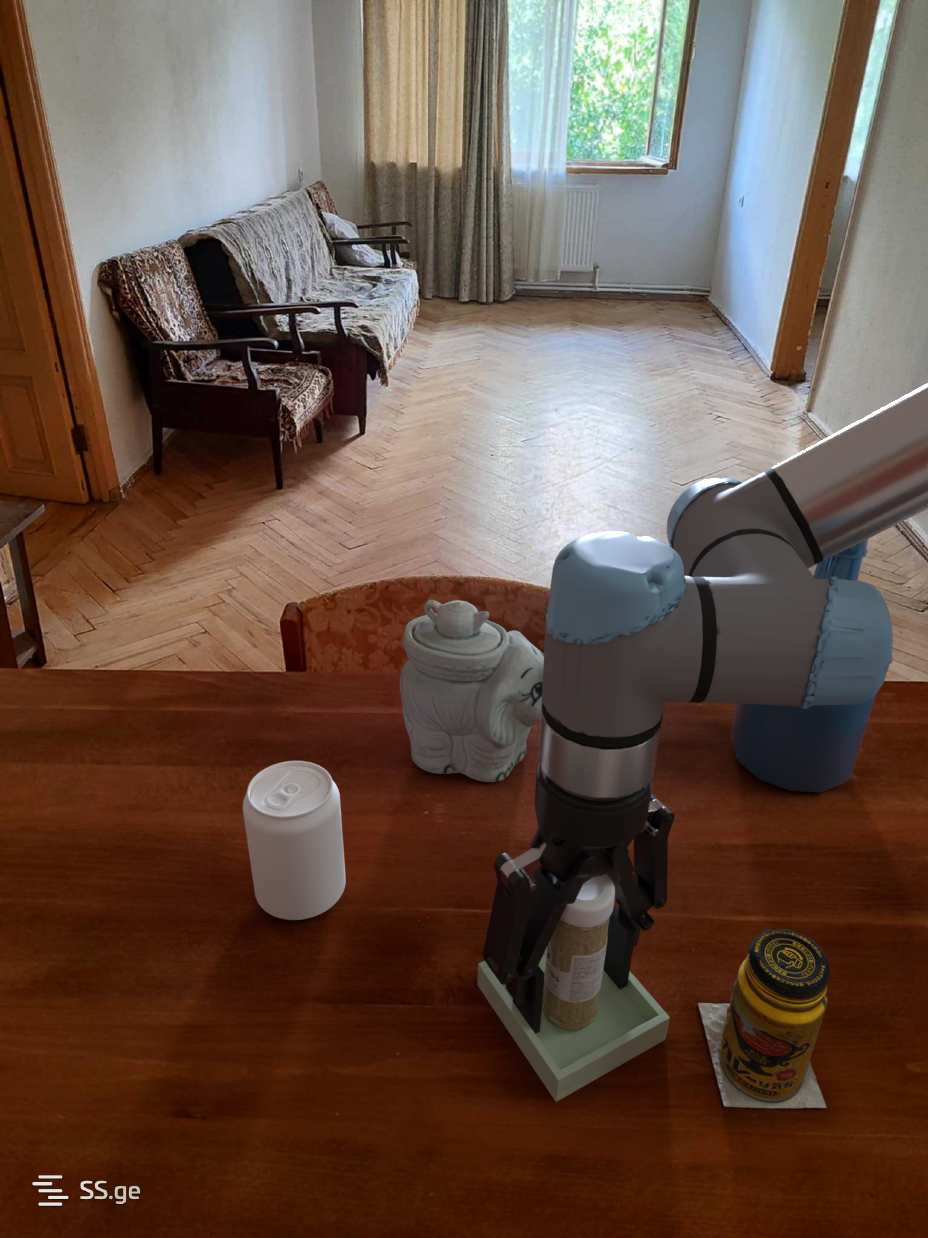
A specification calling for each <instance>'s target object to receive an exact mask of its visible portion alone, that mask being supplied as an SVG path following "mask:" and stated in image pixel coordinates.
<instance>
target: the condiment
mask: <svg viewBox="0 0 928 1238" xmlns="http://www.w3.org/2000/svg"><path fill="white" fill-rule="evenodd" d="M747 952H748V954H747V955H746V958H745V959H744V960H743V961H742V963H741V964H740V965H739V967H738V971H737V974H736V978H735V981H734V983H733V985H732V994H731V996H730V1000H729V1003H711V1002H698V1003H697V1005H698V1009H699V1012H700V1017H701V1020H702V1024H703V1029H704V1031H705V1032H704V1033H705V1036H706V1040H707V1044H708V1049H709V1053H710V1057H711V1061H712V1065H713V1068H714V1074H715V1077H716V1081H717V1085H718V1088H719V1093H720V1098H721V1101H722V1103H723V1106H724V1107H725V1108H750V1109H805V1108H807V1109H815V1108H816V1109H827V1108H828V1107H827V1105H826V1102H825V1098H824V1096H823V1094H822V1091H821V1089H820V1086H819V1084H818V1080H817V1077H816V1074H815V1071H814V1069H813V1067H812V1062H811V1057H812V1053H813V1051H814V1048H815V1044H816V1042H817V1039H818V1035H819V1032H820V1029H821V1026H822V1023H823V1019H824V1017H825V1013H826V1010H827V1007H828V993H827V989H828V984H829V981H830V978H831V970H830V962H829V960H828V957H827V956H826V953H825V952H824V950H823V949H822V947H820V945H819V944H818V943H816V942H815V940H812V939H811V938H809V937H808V936H805V935H804V934H801V933H799V932H797V931H794V930H791V929H785V928H772V929H771V928H770V929H765V930H763V931H762V932H761V933H759V934H757V935H756V936H755V937H753V939H752V942H751V943H750V945H749V948H748V951H747Z"/></svg>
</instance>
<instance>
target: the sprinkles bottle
mask: <svg viewBox="0 0 928 1238" xmlns="http://www.w3.org/2000/svg"><path fill="white" fill-rule="evenodd" d="M614 905H615V887H614V884H613V881H612V880H611V878H610V877H609V876H608V874H607V873H606V874H604V875H601V876H597V877H593V878H591V879H590V880H588V881H587V882H585V883H584V884H583V885H582V888H581V890H580V892H579V894H578V896H577V898H576V900H575V902H574V903H572V904H567V905H566V907H565V910H564V912H563V914H562V916H561V918H560V920H559V922H558V925H557V927H556V929H555V931H554V933H553V935H552V937H551V939H550V942H549V944H548V946H547V955H546V963H545V972H544V973H545V979H544V990H543V1001H542V1009H543V1012H544V1014H545V1015H546V1017H547V1018H548V1019H549V1020H550V1021H551V1022H552V1023H553V1024H555V1025H557V1026H558V1027H560V1028H564V1029H568V1030H578V1029H581V1028H584V1027H586V1026H588V1025H590V1024H591V1023H592V1022H593V1021H594V1020H595V1018H596V1016H597V1013H598V995H599V989H600V987H601V981H602V974H603V967H604V960H605V953H606V946H607V938H608V936H607V933H608V925H609V917H610V915H611V913H612V911H613V907H614Z"/></svg>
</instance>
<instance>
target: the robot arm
mask: <svg viewBox="0 0 928 1238" xmlns="http://www.w3.org/2000/svg"><path fill="white" fill-rule="evenodd" d="M927 510H928V382H927V383H925V384H924V385H922V386H920V387H918V388H916V389H915V390H913V391H911V392H908V393H907V394H905V395H903V396H902V397H900V398H898V399H896V400H894V401H892V402H891V403H889V404H887V405H885V406H883V407H881V408H879V409H877V410H876V411H874V412H872V413H870V414H869V415H867V416H865V417H863V418H860V419H859V420H857V421H856V422H854V423H851V424H850V425H848V426H846V427H844V428H843V429H841V430H839V431H837V432H835V433H834V434H832V435H830V436H828V437H826V438H824V439H822V440H820V441H819V442H817V443H815V444H813V445H811V446H809V447H807V448H806V449H804V450H801V451H800V452H798V453H796V454H794V455H793V456H791V457H789V458H787V459H786V460H784V461H781V462H780V463H777V464H776V465H774V466H772V467H771V468H769V469H767V470H765V471H763V472H761V473H759V474H758V475H756V476H754V477H751V478H750V479H748V480H746V481H744V482H742V481H740V480H738V479H734V478H730V477H713V478H706V479H703V480H700V481H698V482H696V483H694V484H692V485H690V486H689V487H688V488H686V489H685V490H684V491H683V492H682V493H681V494H680V495H679V496H678V497H677V499H676V500H675V501H674V503H673V505H672V506H671V508H670V511H669V513H668V516H667V519H666V538H667V541H668V544H667V543H665V542H663V541H661V540H660V539H657V538H655V537H652V536H637V535H633V534H632V533H631V532H626V531H602V532H596V533H590V534H586V535H582V536H580V537H577V538H576V539H574V540H572V541H570V542H568V543H567V544H566V545H564V546H563V548H562V549H561V550H560V551H559V553H558V554H557V555H556V557H555V559H554V562H553V566H552V572H551V580H550V586H549V587H550V588H549V596H548V605H547V608H546V610H545V627H544V628H545V629H544V647H543V648H544V649H543V650H544V651H543V653H544V667H543V687H542V706H541V720H540V722H539V736H538V762H537V765H536V774H535V775H536V776H535V777H536V778H535V790H534V791H535V793H534V810H535V815H536V821H537V829H536V832H535V834H534V836H533V837H532V839H531V842H530V848H529V850H527V851H525V852H522V854H520V855H518V856H517V857H515V858H512V857H511V855H509V854H508V853H507V852H504V853H501V854H499V855H497V857H496V858H495V859H494V861H493V867H494V871H495V877H496V880H497V881H496V886H495V890H494V896H493V900H492V906H491V911H490V916H489V921H488V926H487V929H486V930H487V931H486V935H485V941H484V946H483V951H482V956H481V957H482V959H483V961H485V962H486V963H487V965H488V966H489V968H490V969H491V971H492V972H493V973H494V975H495V976H496V978H497V979H498V980H499V982H500V983H501V984H502V985H504V984H506V989H507V991H508V992H509V994H510V995H511V997H512V998H513V1003H514V1004H515V1006H516V1007H517V1009H518V1010H519V1011H520V1013H521V1014H522V1016H523V1017H524V1019H525V1020H526V1021H527V1023H528V1024H529V1026H530V1027H531V1029H532V1030H533V1031H534V1033H535V1034H537V1033H539V1032H540V1026H541V1013H542V1001H543V989H544V977H545V973H544V972H543V971H542V969H541V968H540V967H539V963H540V961H541V959H542V956H543V954H544V952H545V950H546V948H547V946H548V944H549V942H550V939H551V937H552V935H553V933H554V931H555V929H556V927H557V925H558V922H559V920H560V918H561V916H562V914H563V912H564V910H565V907H566V905H567V904H572V903H574V902H575V900H576V898H577V896H578V894H579V892H580V890H581V888H582V885H583V884H584V883H585V882H587V881H588V880H590V879H591V878H593V877H597V876H601V875H604V874H606V873H607V874H608V876H609V877H610V878H611V880H612V881H613V884H614V887H615V899H614V902H616V903H617V904H618V907H617V906H616V905H615V904H614V907H613V911H612V913H611V915H610V917H609V925H608V933H607V936H608V938H607V946H606V953H605V960H604V967H603V970H604V971H605V973H606V974H607V975H608V976H609V977H610V979H611V980H612V981H613V982H614V983H615V985H616V986H617V987H618V988H619V990H620V989H622V988H624V987H626V986H627V984H628V978H629V972H631V971H630V970H631V965H632V959H633V951H634V947H636V946H637V944H638V943H639V941H640V936H641V935H640V934H641V931H642V932H648V931H649V930H650V929H651V928H652V927H653V926H654V924H655V919H654V918H653V917H652V916H651V914H649V912H648V911H649V910H650V909H652V908H654V909H655V910H660V909H661V908H663V907H664V906H665V905H666V903H667V902H668V872H669V871H668V867H669V866H668V864H669V861H668V860H669V859H668V858H669V857H668V856H669V855H668V854H669V835H670V832H671V829H672V826H673V823H674V821H675V817H676V815H675V813H674V812H673V811H672V810H671V809H669V808H668V807H667V806H666V805H665V804H664V803H663V802H662V801H661V800H659V799H658V798H657V797H656V796H655V795H654V794H652V790H653V782H654V781H653V780H654V778H653V777H654V776H655V772H656V766H657V756H658V749H659V743H660V736H661V728H662V725H663V724H662V722H663V717H664V708H665V705H666V703H694V704H701V703H715V704H736V705H737V704H755V705H775V706H795V707H801V708H804V709H808V708H810V707H811V706H813V705H850V704H860V703H863V702H865V701H867V700H869V699H870V698H872V697H873V696H874V695H875V694H876V693H877V694H878V692H879V691H880V689H881V687H882V686H883V685H884V683H885V681H886V678H887V673H888V671H889V667H890V665H891V664H890V661H891V657H892V656H893V648H894V647H893V646H894V645H893V644H894V634H893V632H894V631H893V624H892V618H891V617H892V616H891V613H890V610H889V607H888V604H887V602H886V600H885V598H884V596H883V595H882V593H881V592H880V591H879V590H878V589H877V588H876V587H875V586H874V585H872V584H871V583H869V582H866V581H860V580H858V581H853V580H844V579H839V578H838V577H830V578H829V579H815V578H814V576H813V572H811V570H810V568H813V567H815V565H816V564H818V563H820V562H822V561H824V560H826V559H828V558H830V557H832V556H834V555H836V554H838V553H840V552H842V551H844V550H846V549H848V548H850V547H852V546H854V545H856V544H858V543H860V542H862V541H864V540H866V539H868V538H869V539H871V538H872V537H874V536H876V535H878V534H880V533H882V532H884V531H886V530H888V529H890V528H893V527H895V526H897V525H898V524H901V523H902V522H904V521H906V520H909V519H911V518H913V517H914V516H917V515H919V514H921V513H923V512H924V511H927ZM869 539H868V540H869ZM632 842H633V862H632V860H631V858H630V855H629V854H630V851H629V849H628V848H629V846H630V845H631V844H632Z"/></svg>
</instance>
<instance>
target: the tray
mask: <svg viewBox="0 0 928 1238" xmlns="http://www.w3.org/2000/svg"><path fill="white" fill-rule="evenodd" d="M546 955H547V948H546V950H545V952H544V954H543V956H542V959H541V961H540V963H539V967H540V968H541V969H542V971H543V972H545V963H546ZM544 979H545V977H544ZM476 983H477V984H476V985H477V987H478V988H479V990H480V991H481V993H482V994H483V996H484V998H485V999H486V1000H487V1002H488V1004H489V1005H490V1006H491V1008H492V1009H493V1010H494V1012H495V1013H496V1015H497V1017H498V1018H499V1020H500V1021H501V1023H502V1024H503V1026H504V1027H505V1029H506V1031H508V1033H509V1034H510V1036H511V1038H512V1039H513V1041H514V1042H515V1043H516V1045H517V1047H518V1048H519V1050H520V1051H521V1052H522V1054H523V1056H524V1057H525V1059H526V1060H527V1062H528V1063H529V1064H530V1066H531V1068H532V1069H533V1070H534V1072H535V1073H536V1075H537V1076H538V1078H539V1080H540V1081H541V1082H542V1084H543V1085H544V1087H545V1088H546V1090H547V1091H548V1092H549V1094H550V1096H551V1097H552V1099H553V1100H554V1102H555V1103H557V1102H559V1101H561V1100H563V1099H565V1098H566V1097H568V1096H569V1095H571V1094H573V1093H575V1092H576V1091H578V1090H580V1089H581V1088H583V1087H585V1086H587V1085H589V1084H590V1083H592V1082H594V1081H596V1080H597V1079H599V1078H601V1077H602V1076H604V1075H606V1074H608V1073H610V1072H612V1071H613V1070H615V1069H617V1068H618V1067H621V1066H622V1065H623V1064H625V1063H627V1062H629V1061H631V1060H632V1059H634V1058H636V1057H638V1056H639V1055H641V1054H643V1053H645V1052H647V1051H648V1050H650V1049H651V1048H653V1047H655V1046H657V1045H659V1044H660V1043H662V1042H664V1041H665V1040H666V1039H667V1034H668V1029H669V1024H670V1020H671V1017H670V1016H669V1014H667V1012H666V1011H665V1010H664V1009H663V1008H662V1007H661V1005H660V1004H659V1003H658V1002H657V1001H656V999H655V998H654V997H653V996H652V995H651V994H650V993H649V991H648V990H647V989H646V988H645V987H644V986H643V984H641V982H640V981H639V980H638V978H637V977H636V976H635V975H634V974H633V973H632V972H631V971H630V972H629V978H628V984H627V986H626V987H624V988H622V989H620V990H619V988H618V987H617V986H616V985H615V983H614V982H613V981H612V980H611V979H610V977H609V976H608V975H607V974H606V973H605V971H604V970H603V974H602V981H601V987H600V989H599V995H598V1013H597V1016H596V1018H595V1020H594V1021H593V1022H592V1023H591V1024H590V1025H588V1026H586V1027H584V1028H581V1029H578V1030H568V1029H564V1028H560V1027H558V1026H557V1025H555V1024H553V1023H552V1022H551V1021H550V1020H549V1019H548V1018H547V1017H546V1015H545V1014H544V1012H543V1009H542V1013H541V1026H540V1032H539V1033H537V1034H535V1033H534V1031H533V1030H532V1029H531V1027H530V1026H529V1024H528V1023H527V1021H526V1020H525V1019H524V1017H523V1016H522V1014H521V1013H520V1011H519V1010H518V1009H517V1007H516V1006H515V1004H514V1003H513V998H512V997H511V995H510V994H509V992H508V991H507V989H506V984H504V985H502V984H501V983H500V982H499V980H498V979H497V978H496V976H495V975H494V973H493V972H492V971H491V969H490V968H489V966H488V965H487V963H486V962H485V960H483V961H481V962H478V964H477V981H476ZM543 990H544V989H543Z"/></svg>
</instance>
